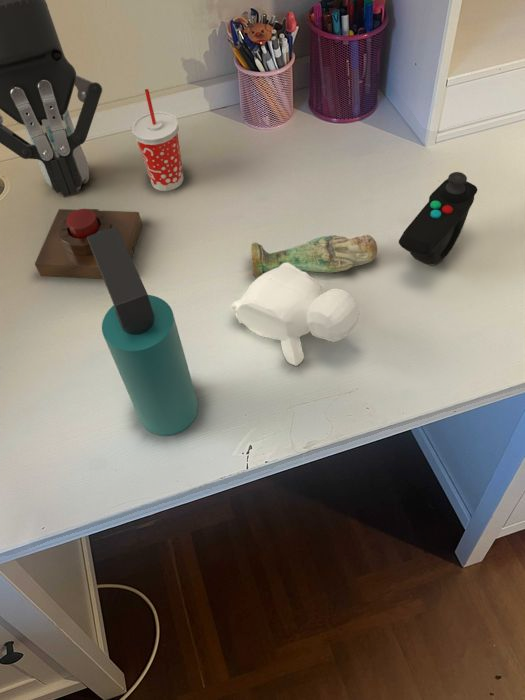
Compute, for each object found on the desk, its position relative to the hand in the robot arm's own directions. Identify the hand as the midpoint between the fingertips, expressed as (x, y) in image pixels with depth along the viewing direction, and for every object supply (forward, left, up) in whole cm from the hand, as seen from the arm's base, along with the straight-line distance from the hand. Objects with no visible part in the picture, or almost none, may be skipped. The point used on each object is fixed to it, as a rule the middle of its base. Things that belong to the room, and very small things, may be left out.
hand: (71, 194), depth 66 cm
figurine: (+24, +8, -17) cm, 30 cm away
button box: (-5, +9, -17) cm, 20 cm away
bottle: (-12, +22, -17) cm, 30 cm away
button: (-5, +9, -13) cm, 17 cm away
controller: (+38, +10, -17) cm, 43 cm away
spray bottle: (+9, -12, -17) cm, 23 cm away
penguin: (+23, -3, -17) cm, 29 cm away
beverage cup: (+2, +23, -17) cm, 28 cm away
